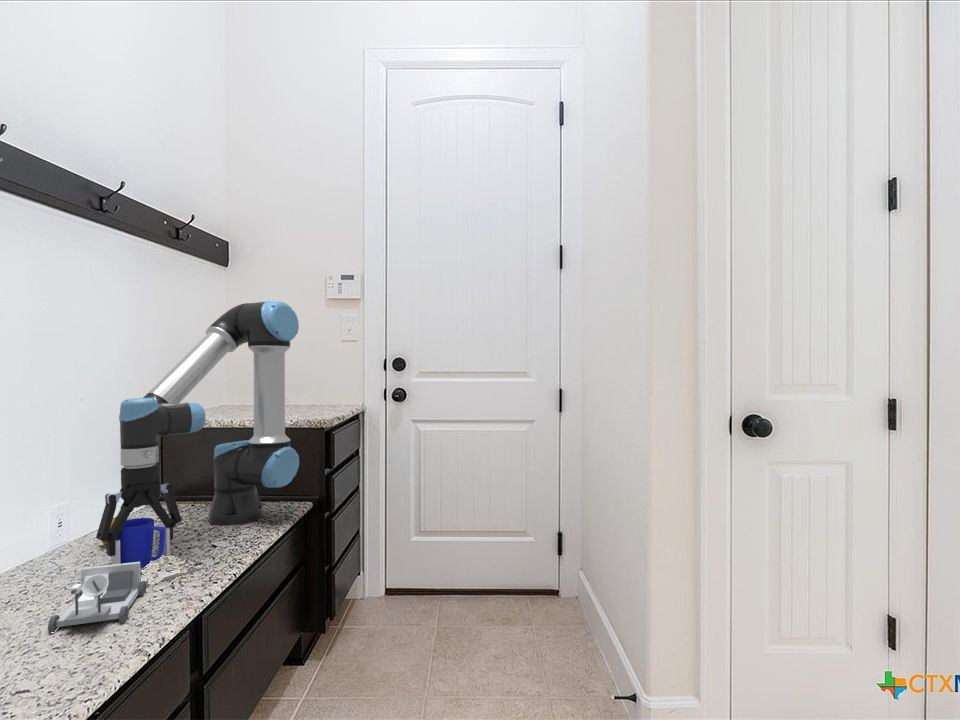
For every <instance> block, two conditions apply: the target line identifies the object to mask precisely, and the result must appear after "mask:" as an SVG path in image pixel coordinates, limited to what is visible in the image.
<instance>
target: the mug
mask: <svg viewBox="0 0 960 720" xmlns="http://www.w3.org/2000/svg"><path fill="white" fill-rule="evenodd" d="M164 527H165V526H158V525H155V519H154V518H152V517H136V518H130V519H127V520H126V522H125V524H124V526H123V528H122V529H121V531H120V533H119V535H118V537H117V540H120V564H123V563H132V562H140V568H141V567H143V566H146V565H147V564H149V563H150V561H155V560H157V559H159V558H160V557H161V556H162V553H163V550H164V543H165V528H164ZM154 531H158V532H159V541H158V549H157V553H156V557H155V556H153V549H154V548H153V544H154Z"/></svg>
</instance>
